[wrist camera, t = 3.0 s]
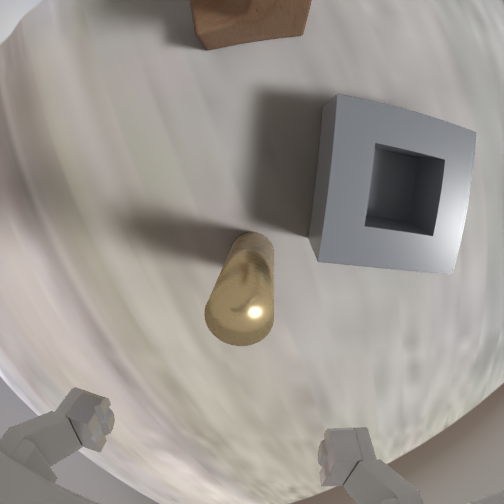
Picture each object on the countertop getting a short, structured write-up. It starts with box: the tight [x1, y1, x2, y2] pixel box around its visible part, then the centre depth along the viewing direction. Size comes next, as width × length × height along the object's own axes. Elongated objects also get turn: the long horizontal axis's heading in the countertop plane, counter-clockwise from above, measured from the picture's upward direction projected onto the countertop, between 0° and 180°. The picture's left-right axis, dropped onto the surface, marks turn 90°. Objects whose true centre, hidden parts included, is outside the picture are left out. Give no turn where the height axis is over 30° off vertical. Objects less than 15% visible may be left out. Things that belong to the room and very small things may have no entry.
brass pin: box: [205, 232, 274, 346], centre depth 23 cm, size 4×4×12 cm
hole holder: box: [308, 94, 476, 275], centre depth 23 cm, size 12×12×6 cm
